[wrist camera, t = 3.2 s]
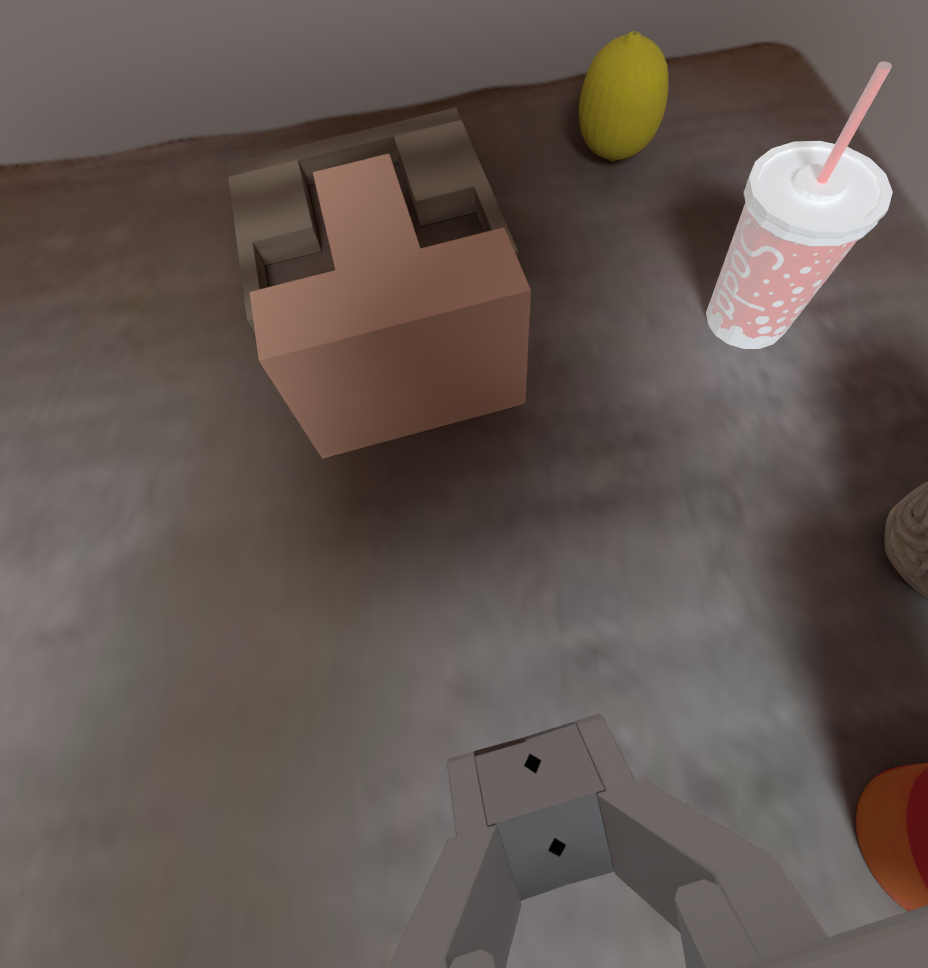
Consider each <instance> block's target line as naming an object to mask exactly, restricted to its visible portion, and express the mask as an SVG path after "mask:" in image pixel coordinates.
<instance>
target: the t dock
mask: <svg viewBox="0 0 928 968" xmlns="http://www.w3.org/2000/svg"><path fill="white" fill-rule="evenodd" d="M385 154H390V157H391V160H392V163H393V164H395V163H399V165H400V168H401V171H402V174H403V177H404V180H405V183H406V186H407V189H408V192H409V195H410V198H411V200H412V203H413V206H414V209H415V212H416V215H417V218H418V221H419V224H420V226H423V225H427V224H431V223H435V222H439V221H443V220H447V219H451V218H455V217H459V216H463V215H467V214H471V213H475V212H476V214H477V216H478V219H479V221H480V224H481V226H482V229H483V231H484V232H488V231H492V230H496V229H500V228H503V227H504V228H505V231H506V233H507V235H508V238H509V240H510V242H511V245H512V247H513V249H514V252H515V254H516V256H517V259H518V250H517V247H516V245H515V243H514V240H513V238H512V236H511V233H510V231H509V229H508V226H507V224H506V222H505V219H504V217H503V215H502V213H501V210H500V208H499V206H498V203H497V201H496V199H495V196H494V194H493V192H492V189H491V187H490V185H489V182H488V180H487V178H486V175H485V173H484V171H483V168H482V166H481V164H480V162H479V159H478V157H477V155H476V152H475V150H474V148H473V145H472V143H471V141H470V138H469V136H468V134H467V131H466V129H465V127H464V124H463V122H462V120H461V118H460V115H459V113H458V111H457V108H452V109H448V110H444V111H440V112H436V113H432V114H428V115H423V116H419V117H415V118H411V119H407V120H403V121H399V122H395V123H391V124H386V125H382V126H378V127H374V128H370V129H366V130H362V131H358V132H354V133H350V134H345V135H341V136H337V137H333V138H329V139H325V140H321V141H317V142H313V143H308V144H304V145H300V146H296V147H292V148H288V149H284V150H280V151H276V152H271V153H267V154H263V155H259V156H255V157H251V158H247V159H243V160H239V161H235V162H230V163H226V165H227V172H228V180H229V187H230V195H231V202H232V210H233V217H234V225H235V232H236V240H237V247H238V255H239V262H240V270H241V277H242V285H243V292H244V300H245V308H246V315H247V321H248V323H249V324H250V326H251V328H252V329H253V331H254V333H255V329H254V321H253V314H252V307H251V300H250V293H249V292H252V291H256V290H260V289H264V288H268V286H267V279H266V273H265V267H264V266H265V265H269V264H273V263H277V262H281V261H285V260H289V259H293V258H297V257H301V256H305V255H309V254H313V253H317V252H321V247H320V242H319V238H318V233H317V229H316V224H315V220H314V215H313V211H312V206H311V202H310V197H309V193H308V188H307V185H310V184H314V183H315V180H314V175H313V172H316V171H320V170H324V169H328V168H332V167H336V166H340V165H345V164H349V163H353V162H357V161H361V160H365V159H369V158H373V157H377V156H381V155H385Z"/></svg>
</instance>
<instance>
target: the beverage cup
mask: <svg viewBox="0 0 928 968" xmlns="http://www.w3.org/2000/svg"><path fill="white" fill-rule="evenodd" d="M891 67H892V65H891V64H890V63H888V62H880V63H879V64H878V66H877V68H876V70H875V72H874V73H873V75H872V77H871V79H870V81H869V83H868V85H867V86H866V88H865V90H864V92H863V94H862V95H861V97H860V99H859V101H858V103H857V105H856V107H855V108H854V110H853V112H852V114H851V116H850V118H849V120H848V121H847V123H846V125H845V127H844V129H843V131H842V133H841V134H840V136H839V138H838V140H837V142H836V144H831V143H827V142H822V141H805V142H792V143H788V144H785V145H782V146H779V147H776V148H772V149H771V150H769V151H768V152H767V153H765V154H764V155H763V156H762V157H760V158H759V159H758V160H757V161H756V162H755V164H754V167H753V169H752V171H751V174H750V176H749V179H748V181H747V185H746V188H745V190H744V197H745V205H744V208H743V211H742V214H741V216H740V219H739V222H738V225H737V228H736V230H735V233H734V236H733V239H732V242H731V244H730V247H729V250H728V253H727V255H726V258H725V261H724V264H723V267H722V269H721V272H720V275H719V278H718V281H717V283H716V286H715V289H714V292H713V295H712V297H711V300H710V303H709V306H708V309H707V311H706V315H707V322H708V325H709V327H710V328H711V329H712V331H713V332H714V334H715V335H716V336H717V337H719V338H720V339H722V340H723V341H725V342H726V343H727V344H730V345H733V346H737V347H740V348H743V349H760V348H763V347H766V346H769V345H772V344H774V343H775V342H776V341H777V340H778V339H779V338H780V337H781V336H783V334H784V333H785V332H786V331H787V329H788V328H789V327H790V325H791V324H792V323H793V322H794V320H795V319H796V318H797V317H798V315H799V314H800V313H801V311H802V310H803V309H804V308H805V306H806V305H807V304H808V303H809V301H810V300H811V299H812V297H813V296H814V295H815V294H816V292H817V291H818V290H819V289H820V287H821V286H822V285H823V283H824V282H825V281H826V280H827V278H828V277H829V276H830V274H831V273H832V272H833V271H834V269H835V268H836V267H837V266H838V264H839V263H840V262H841V260H842V259H843V258H844V257H845V255H846V254H847V253H848V252H849V250H850V249H851V248H852V246H853V245H854V244H855V243H856V241H857V240H858V239H860V238H862V237H863V236H864V235H866V234H867V233H868V232H869V231H870V230H871V229H872V228H873V227H874V226H876V225H877V223H878V220H879V219H880V218H881V217H883V216H884V215H885V213H886V212H887V210H888V207H889V204H890V200H891V196H892V189H891V187H890V184H889V181H888V178H887V176H886V174H885V173H884V172H883V171H882V170H881V169H880V168H879V167H878V166H877V165H876V164H875V163H874V162H873V161H872V160H871V159H870V158H868V157H866V156H864V155H862V154H860V153H858V152H856V151H854V150H852V149H850V148H848V147H847V146H848V144H849V142H850V140H851V139H852V137H853V135H854V133H855V131H856V130H857V128H858V126H859V124H860V122H861V121H862V119H863V117H864V115H865V114H866V112H867V110H868V108H869V106H870V105H871V103H872V101H873V99H874V97H875V96H876V94H877V92H878V90H879V89H880V87H881V85H882V83H883V82H884V80H885V78H886V76H887V74H888V73H889V71H890V69H891Z"/></svg>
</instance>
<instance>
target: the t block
mask: <svg viewBox="0 0 928 968" xmlns="http://www.w3.org/2000/svg"><path fill="white" fill-rule="evenodd" d="M313 175H314V180H315V184H316V188H317V192H318V197H319V201H320V205H321V210H322V214H323V218H324V223H325V227H326V231H327V236H328V240H329V244H330V248H331V253H332V257H333V261H334V266H335V271H331V272H327V273H323V274H319V275H315V276H311V277H307V278H303V279H299V280H295V281H291V282H287V283H283V284H280V285H276V286H272V287H268V288H264V289H260V290H256V291H252V292H249V293H250V300H251V307H252V314H253V321H254V329H255V336H256V343H257V350H258V357H259V362H260V363H261V365H262V366H263V368H264V369H265V371H266V373H267V374H268V376H269V377H270V379H271V380H272V382H273V383H274V385H275V386H276V388H277V390H278V391H279V393H280V394H281V396H282V397H283V399H284V400H285V402H286V403H287V405H288V407H289V408H290V410H291V411H292V413H293V414H294V416H295V417H296V419H297V420H298V422H299V424H300V425H301V427H302V428H303V430H304V431H305V433H306V434H307V436H308V438H309V439H310V441H311V442H312V444H313V445H314V447H315V448H316V450H317V451H318V453H319V455H320V456H321V458H322V459H323V458H327V457H330V456H334V455H338V454H341V453H345V452H349V451H353V450H356V449H360V448H364V447H367V446H371V445H375V444H378V443H382V442H386V441H390V440H393V439H397V438H401V437H404V436H408V435H412V434H415V433H419V432H423V431H427V430H430V429H434V428H438V427H441V426H445V425H449V424H452V423H456V422H460V421H464V420H467V419H471V418H475V417H478V416H482V415H486V414H489V413H493V412H497V411H501V410H504V409H508V408H512V407H515V406H519V405H523V404H525V402H526V382H527V361H528V340H529V320H530V299H531V289H530V287H529V284H528V282H527V280H526V277H525V275H524V273H523V270H522V268H521V266H520V263H519V261H518V259H517V256H516V254H515V252H514V249H513V247H512V245H511V242H510V240H509V238H508V235H507V233H506V231H505V228H504V227H503V228H500V229H496V230H492V231H488V232H484V233H480V234H476V235H472V236H468V237H464V238H460V239H456V240H452V241H448V242H445V243H441V244H437V245H433V246H429V247H425V248H421V249H420V246H419V243H418V240H417V237H416V234H415V230H414V227H413V224H412V221H411V218H410V215H409V212H408V209H407V206H406V203H405V200H404V197H403V194H402V191H401V188H400V185H399V182H398V179H397V176H396V173H395V170H394V167H393V163H392V160H391V157H390V154H385V155H381V156H377V157H373V158H369V159H365V160H361V161H357V162H353V163H349V164H345V165H340V166H336V167H332V168H328V169H324V170H320V171H316V172H313Z"/></svg>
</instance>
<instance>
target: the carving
mask: <svg viewBox="0 0 928 968" xmlns="http://www.w3.org/2000/svg"><path fill="white" fill-rule="evenodd" d="M884 542H885V551H886V554H887V557H888V558H889V560H890V562H891V563H892V564H893V566H894V568H895V569H896V570H897V571H898V573H899V574H900V575H901V576H902V578H903V579H904V580H905V581H906V582H907V583H908V584H909V585H910V586H911V587H912V588H914V589H915V590H916V591H917V592H918V593H920V594H921V595H922V596H924V597H925V598H927V599H928V482H926V483H924V484H922V485H921V486H919V487H917V488H916V489H915V490H913V491H912V492H910V493H909V494H908V495H907V496H906V497H905V498H904V499H902V500H901V501H899V502H898V503H897V504H896V505H895V506H894V507H893V508H892V510H891V511H890V513H889V515H888V517H887V521H886V525H885V535H884Z"/></svg>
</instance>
